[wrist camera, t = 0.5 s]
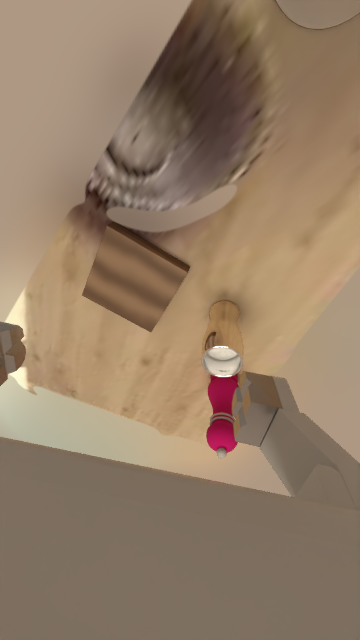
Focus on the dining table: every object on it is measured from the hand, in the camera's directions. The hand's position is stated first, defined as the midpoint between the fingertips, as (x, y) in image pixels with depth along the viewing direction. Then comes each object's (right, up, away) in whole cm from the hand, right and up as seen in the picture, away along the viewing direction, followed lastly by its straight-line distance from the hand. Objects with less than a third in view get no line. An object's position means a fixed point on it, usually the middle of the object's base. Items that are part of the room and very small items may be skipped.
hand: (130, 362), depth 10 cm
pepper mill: (+13, -12, +54) cm, 57 cm away
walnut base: (-7, +10, +43) cm, 45 cm away
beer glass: (+11, +3, +44) cm, 46 cm away
